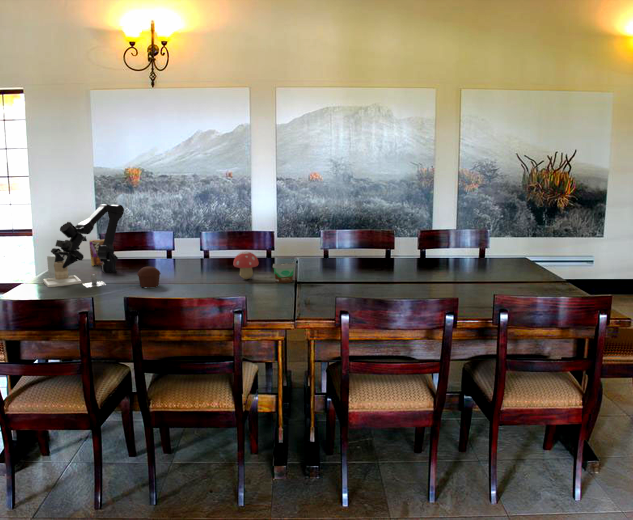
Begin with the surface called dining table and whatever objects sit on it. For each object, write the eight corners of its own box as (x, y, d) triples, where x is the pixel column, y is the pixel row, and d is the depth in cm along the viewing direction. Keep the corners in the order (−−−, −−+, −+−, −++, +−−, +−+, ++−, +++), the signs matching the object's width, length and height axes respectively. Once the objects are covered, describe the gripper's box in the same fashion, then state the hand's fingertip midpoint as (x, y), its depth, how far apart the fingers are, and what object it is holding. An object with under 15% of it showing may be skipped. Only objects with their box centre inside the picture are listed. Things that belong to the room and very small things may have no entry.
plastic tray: (75, 278, 311) (75, 275, 311) (81, 284, 298) (81, 280, 298) (43, 282, 303) (42, 279, 302) (48, 288, 290) (47, 284, 289)
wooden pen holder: (68, 276, 304) (67, 260, 302) (67, 278, 298) (66, 263, 297) (56, 277, 302) (54, 261, 300) (55, 279, 296) (53, 263, 295)
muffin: (165, 284, 298) (164, 265, 296) (154, 289, 287) (153, 269, 285) (144, 283, 300) (143, 264, 298) (133, 288, 290) (131, 268, 288)
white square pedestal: (102, 282, 303) (101, 271, 302) (106, 285, 295) (106, 275, 294) (82, 284, 297) (81, 274, 296) (86, 288, 289) (85, 277, 288)
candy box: (107, 263, 353) (105, 239, 350) (106, 265, 348) (104, 240, 346) (92, 264, 350) (90, 239, 347) (91, 266, 346) (89, 241, 343)
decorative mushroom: (234, 282, 300) (233, 254, 298) (233, 277, 313) (232, 250, 311) (259, 281, 302) (259, 253, 300) (258, 276, 315) (257, 249, 313)
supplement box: (60, 279, 310) (58, 256, 308) (48, 279, 311) (46, 256, 309) (69, 276, 317) (67, 254, 315) (57, 276, 319) (55, 253, 316)
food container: (277, 284, 295) (277, 265, 293) (272, 282, 301) (272, 263, 299) (299, 282, 301) (298, 263, 299) (294, 279, 306) (293, 261, 304)
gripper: (52, 233, 303) (35, 257, 296) (77, 235, 295) (61, 259, 288) (65, 245, 312) (50, 269, 304) (90, 247, 303) (75, 272, 296)
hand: (58, 267), depth 298 cm, fingers closed on wooden pen holder, 6 cm apart
